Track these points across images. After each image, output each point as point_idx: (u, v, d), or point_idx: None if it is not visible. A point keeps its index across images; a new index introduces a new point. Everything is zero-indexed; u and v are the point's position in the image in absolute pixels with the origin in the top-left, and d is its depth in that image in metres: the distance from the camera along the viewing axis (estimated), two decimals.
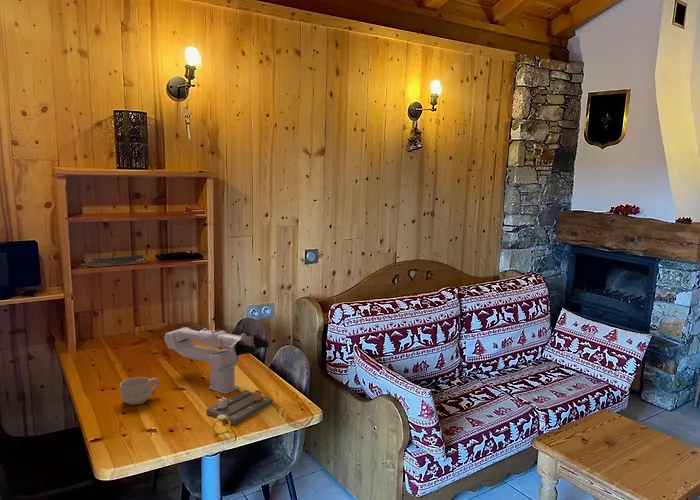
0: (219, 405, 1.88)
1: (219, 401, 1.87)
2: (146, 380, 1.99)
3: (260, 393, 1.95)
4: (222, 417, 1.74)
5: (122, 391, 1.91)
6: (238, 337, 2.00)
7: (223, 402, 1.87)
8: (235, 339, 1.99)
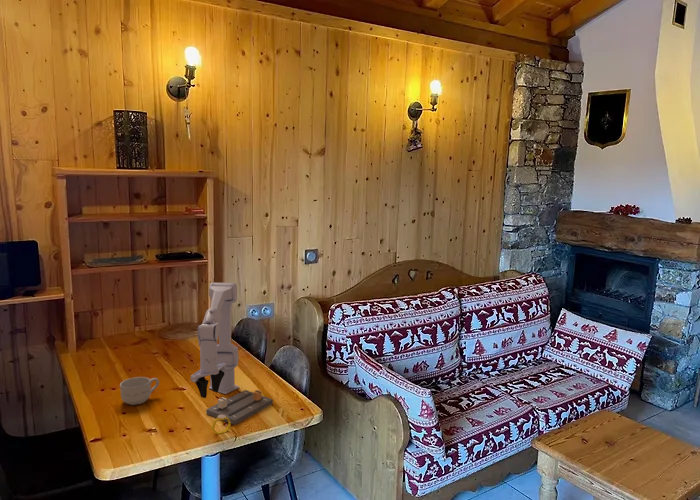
0: (219, 405, 1.88)
1: (219, 401, 1.87)
2: (146, 380, 1.99)
3: (260, 393, 1.95)
4: (222, 417, 1.74)
5: (122, 391, 1.91)
6: (212, 368, 1.79)
7: (223, 402, 1.87)
8: (208, 367, 1.78)
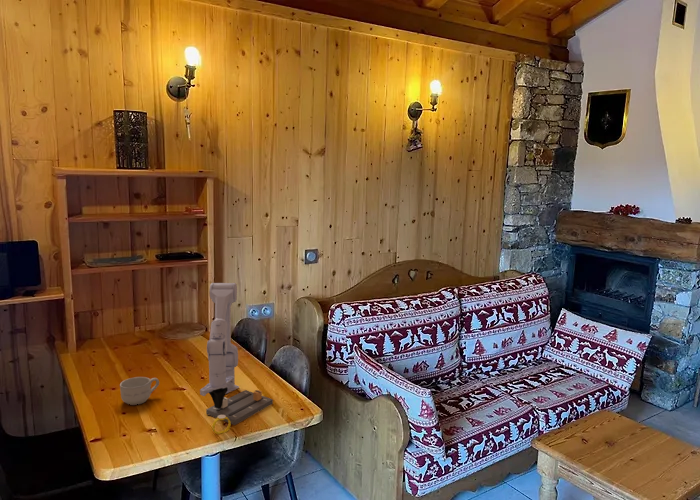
0: None
1: None
2: (146, 380, 1.99)
3: (260, 393, 1.95)
4: (222, 417, 1.74)
5: (122, 391, 1.91)
6: (220, 382, 1.83)
7: (224, 402, 1.88)
8: (217, 381, 1.82)
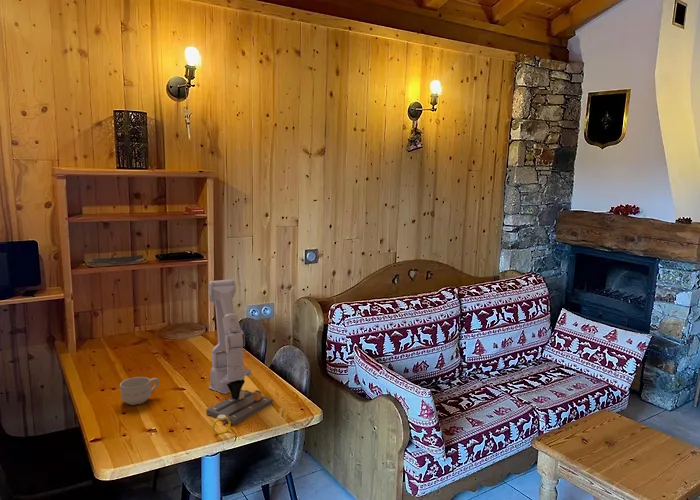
0: None
1: None
2: (146, 380, 1.99)
3: (260, 393, 1.95)
4: (222, 417, 1.74)
5: (122, 391, 1.91)
6: (238, 374, 1.90)
7: (241, 393, 1.95)
8: (235, 373, 1.89)
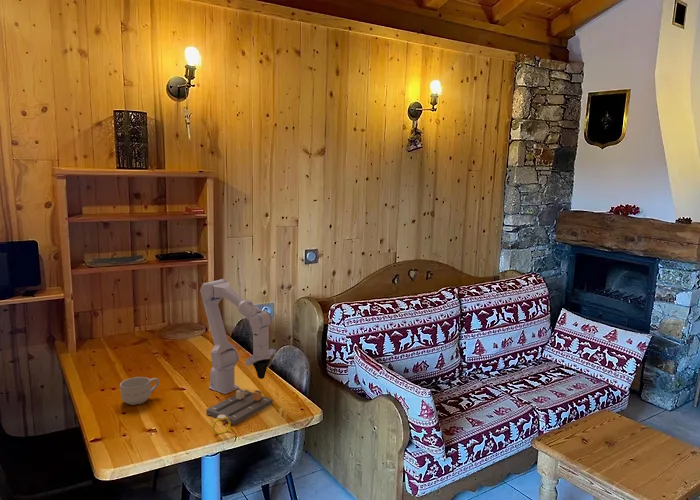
0: (237, 396, 1.95)
1: (237, 392, 1.95)
2: (146, 380, 1.99)
3: (260, 393, 1.95)
4: (222, 417, 1.74)
5: (122, 391, 1.91)
6: (264, 353, 1.93)
7: (241, 393, 1.95)
8: (261, 352, 1.93)
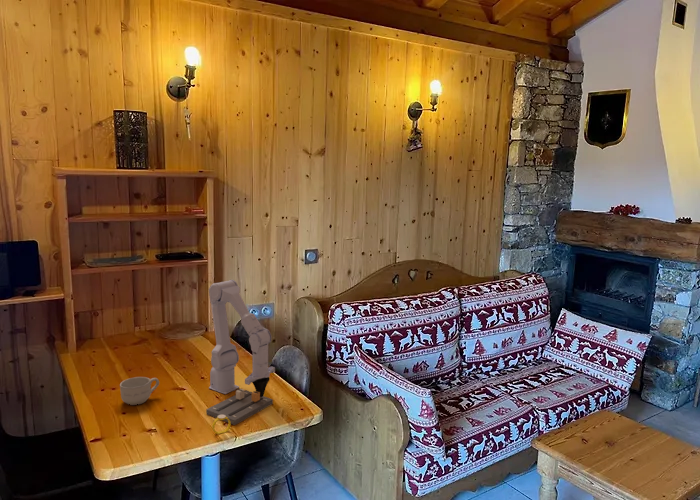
0: (237, 396, 1.95)
1: (237, 392, 1.95)
2: (146, 380, 1.99)
3: (258, 394, 1.94)
4: (222, 417, 1.74)
5: (122, 391, 1.91)
6: (263, 372, 1.93)
7: (241, 393, 1.95)
8: (260, 370, 1.92)
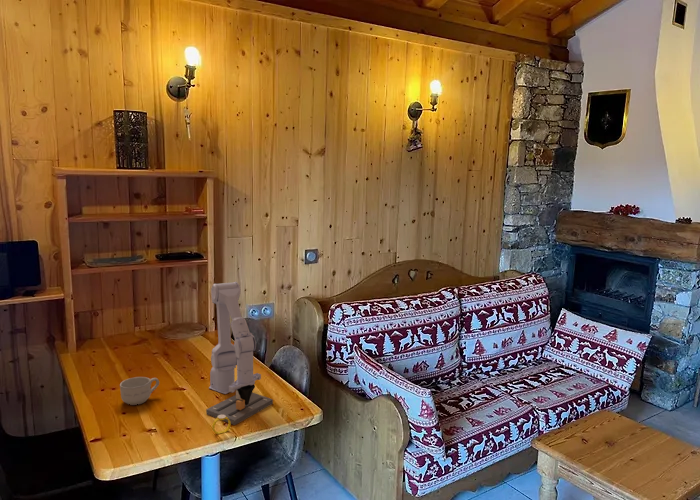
0: (237, 396, 1.95)
1: (237, 392, 1.95)
2: (146, 380, 1.99)
3: (243, 402, 1.88)
4: (222, 417, 1.74)
5: (122, 391, 1.91)
6: (248, 379, 1.86)
7: None
8: (245, 378, 1.85)
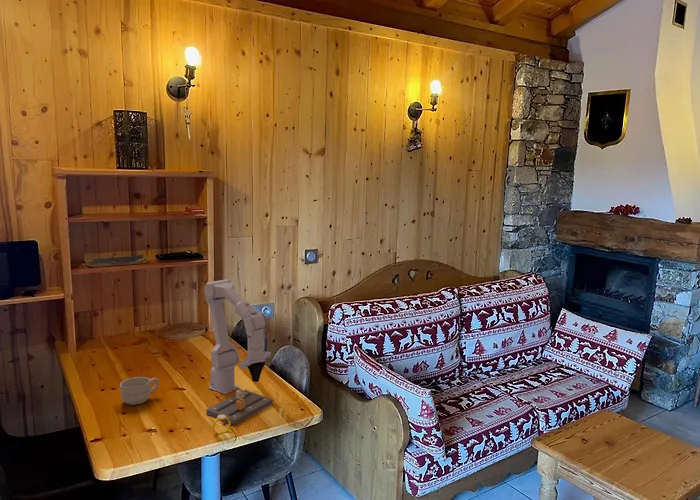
0: (237, 396, 1.95)
1: (237, 392, 1.95)
2: (146, 380, 1.99)
3: (243, 402, 1.88)
4: (222, 417, 1.74)
5: (122, 391, 1.91)
6: (259, 356, 1.89)
7: (241, 393, 1.95)
8: (255, 355, 1.89)
